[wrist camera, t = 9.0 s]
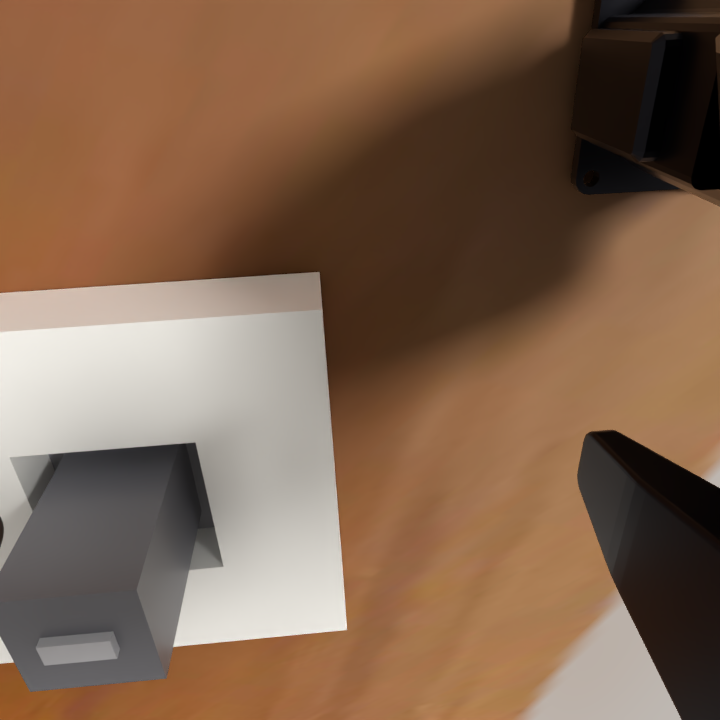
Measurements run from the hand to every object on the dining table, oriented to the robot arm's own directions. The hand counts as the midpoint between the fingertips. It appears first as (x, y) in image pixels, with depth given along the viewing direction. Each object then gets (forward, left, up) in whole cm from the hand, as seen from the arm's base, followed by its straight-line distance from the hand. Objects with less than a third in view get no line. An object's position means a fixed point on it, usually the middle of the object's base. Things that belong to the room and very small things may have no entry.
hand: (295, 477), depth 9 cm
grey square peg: (+7, +9, -11) cm, 16 cm away
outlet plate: (+7, +9, -12) cm, 17 cm away
